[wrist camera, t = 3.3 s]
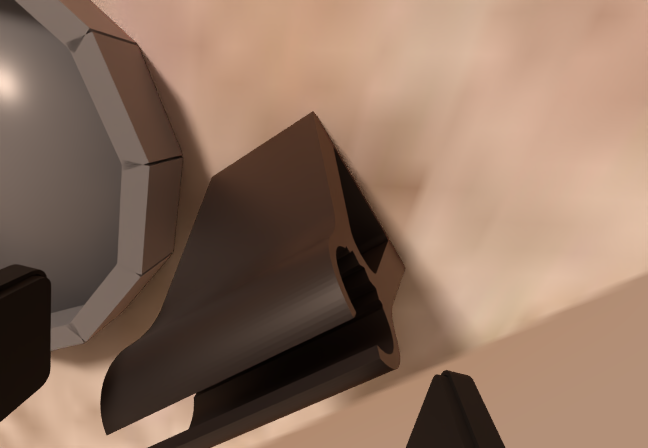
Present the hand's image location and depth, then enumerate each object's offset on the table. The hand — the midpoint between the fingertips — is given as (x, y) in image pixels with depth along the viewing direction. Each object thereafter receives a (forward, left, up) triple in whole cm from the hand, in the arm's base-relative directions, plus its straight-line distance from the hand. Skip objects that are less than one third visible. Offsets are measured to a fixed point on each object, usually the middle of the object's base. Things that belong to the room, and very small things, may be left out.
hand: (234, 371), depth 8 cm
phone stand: (0, -1, -11) cm, 11 cm away
